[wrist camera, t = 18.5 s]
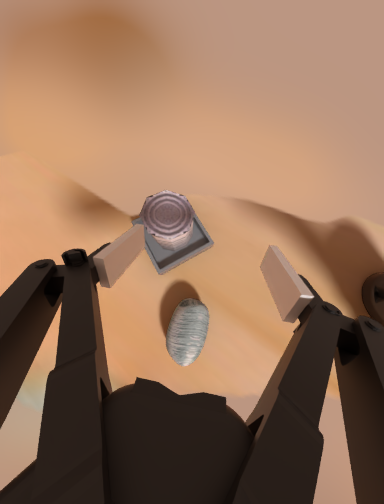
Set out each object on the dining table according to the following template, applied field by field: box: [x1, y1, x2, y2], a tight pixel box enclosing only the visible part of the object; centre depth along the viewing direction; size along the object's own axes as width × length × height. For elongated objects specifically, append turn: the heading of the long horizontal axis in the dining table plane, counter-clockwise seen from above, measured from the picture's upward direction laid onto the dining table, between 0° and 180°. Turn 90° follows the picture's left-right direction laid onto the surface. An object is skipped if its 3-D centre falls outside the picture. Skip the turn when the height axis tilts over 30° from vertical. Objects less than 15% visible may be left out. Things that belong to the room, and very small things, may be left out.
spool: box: [166, 298, 209, 366], centre depth 34 cm, size 14×10×10 cm
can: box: [139, 190, 195, 252], centre depth 37 cm, size 11×11×12 cm
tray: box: [131, 214, 214, 275], centre depth 42 cm, size 17×17×4 cm
